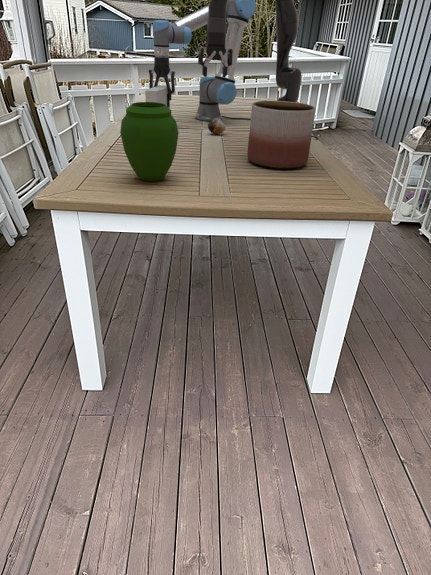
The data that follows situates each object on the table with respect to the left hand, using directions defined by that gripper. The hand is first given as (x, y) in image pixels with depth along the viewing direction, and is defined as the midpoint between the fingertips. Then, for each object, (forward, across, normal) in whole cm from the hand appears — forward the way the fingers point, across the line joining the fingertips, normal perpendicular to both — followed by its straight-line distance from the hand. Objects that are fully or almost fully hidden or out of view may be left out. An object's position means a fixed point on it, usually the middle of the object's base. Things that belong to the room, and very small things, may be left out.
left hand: (162, 106), depth 217 cm
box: (+3, 0, -8) cm, 9 cm away
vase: (+11, +20, -88) cm, 91 cm away
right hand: (-19, +33, -40) cm, 55 cm away
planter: (+10, +64, -52) cm, 83 cm away
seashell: (+10, +31, -7) cm, 33 cm away
